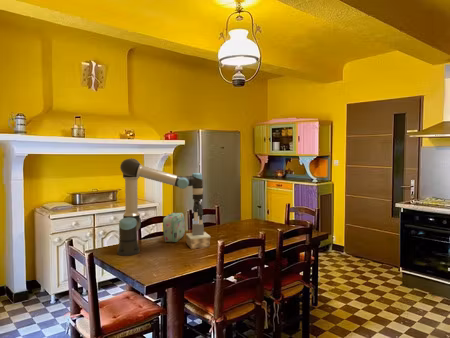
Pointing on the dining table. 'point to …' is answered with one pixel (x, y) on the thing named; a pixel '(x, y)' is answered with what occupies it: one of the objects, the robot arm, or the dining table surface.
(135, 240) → the robot arm
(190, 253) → the dining table surface
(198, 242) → the crate
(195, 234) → the lid
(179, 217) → the lunch box
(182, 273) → the dining table surface
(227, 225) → the dining table surface
